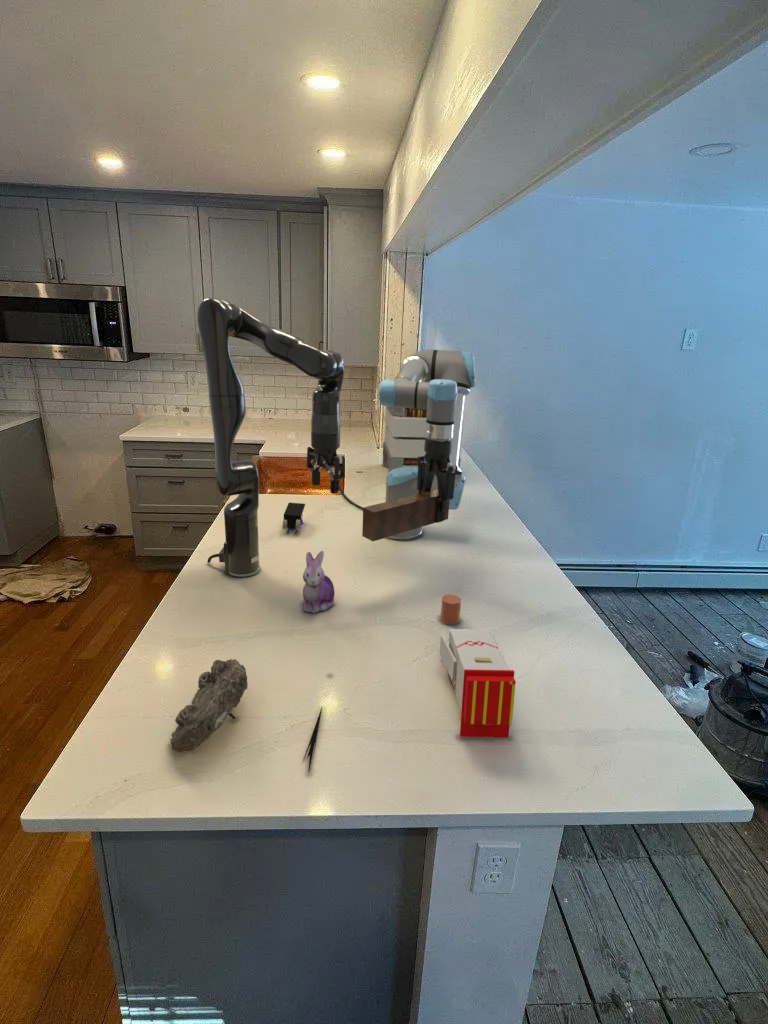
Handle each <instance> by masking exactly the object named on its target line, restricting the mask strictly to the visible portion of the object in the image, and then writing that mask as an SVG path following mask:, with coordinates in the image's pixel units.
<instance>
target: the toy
mask: <svg viewBox="0 0 768 1024" xmlns="http://www.w3.org/2000/svg"><path fill="white" fill-rule="evenodd" d="M438 654H439V656H440V658H441V660H442V662H443V665H444V666H445V668H446V671H447V673H448V675H449V677H450V681H451V683H452V685H453V689H454V690H455V695H456V698H457V702H458V705H459V708H460V726H459V737H460V738H509V737H510V728H511V727H510V726H512V725H513V717H514V706H515V705H514V704H515V693H516V684H517V683H516V679H515V670H514V669H510V667H509V666H508V663H507V662H506V660H505V658H504V655H503V654H502V652H501V650H500V648H499V644H498V642H497V638H496V635H495V634H492V632H491V631H490V629H467V628H466V629H465V628H463V629H461V628H460V629H459V628H450V629H449V631H448V641H447V639H446V638H445V636H444V634H443V635H442V634H441V635H440V641H439V651H438Z"/></svg>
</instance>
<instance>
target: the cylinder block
mask: <svg viewBox="0 0 768 1024" xmlns="http://www.w3.org/2000/svg"><path fill="white" fill-rule="evenodd" d="M440 603H441V604H440V612H439V613H440V614H439V620H440V622H441V623H443V624H446V625H451V626H452V625H457V624H459V622H460V620H461V619H460V618H461V610H462V609H461V608H462V598H461V596H459V595H457V594H453V593H450V594H449V593H448V594H444V595H442V597H441V602H440Z"/></svg>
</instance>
